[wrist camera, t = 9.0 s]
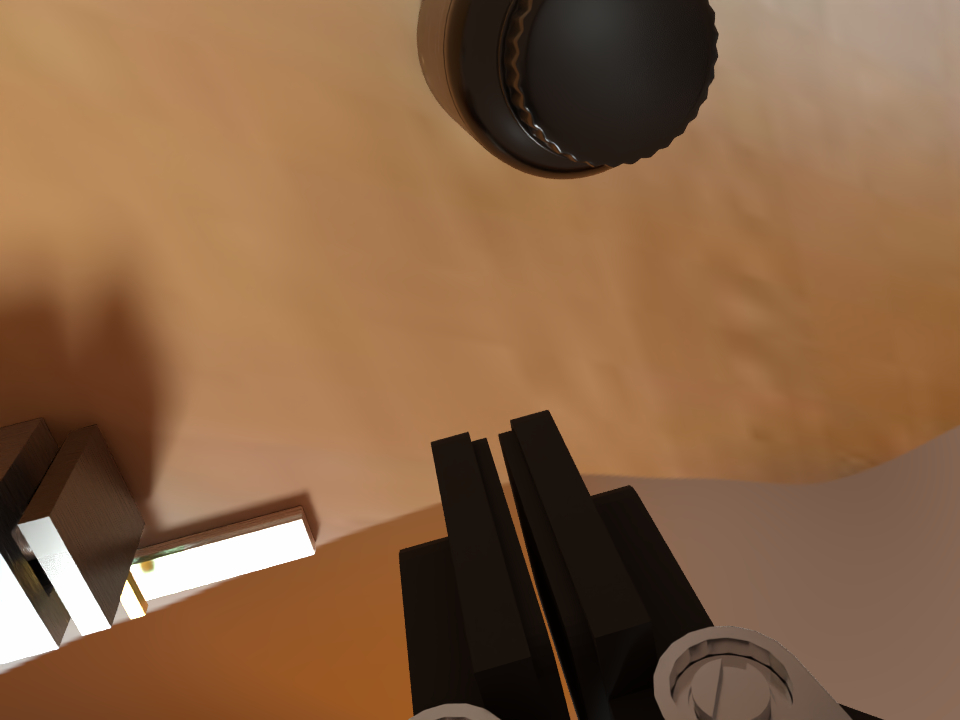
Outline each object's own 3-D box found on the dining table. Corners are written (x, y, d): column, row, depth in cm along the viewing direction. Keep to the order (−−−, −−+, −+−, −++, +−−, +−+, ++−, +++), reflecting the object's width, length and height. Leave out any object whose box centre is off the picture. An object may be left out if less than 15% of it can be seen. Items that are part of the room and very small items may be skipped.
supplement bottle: (586, -87, 26) (769, -145, 16) (605, 115, 29) (769, 180, 19) (392, -51, 26) (445, -86, 15) (431, 152, 29) (499, 242, 18)
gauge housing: (250, 365, 31) (235, 449, 25) (315, 543, 35) (314, 649, 29) (-256, 492, 29) (-397, 613, 23) (-123, 662, 33) (-215, 801, 28)
